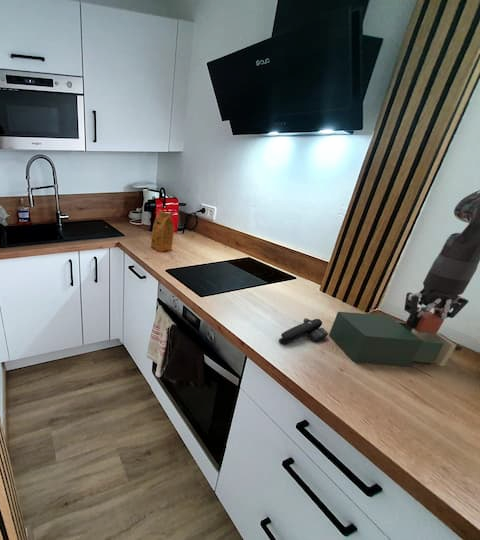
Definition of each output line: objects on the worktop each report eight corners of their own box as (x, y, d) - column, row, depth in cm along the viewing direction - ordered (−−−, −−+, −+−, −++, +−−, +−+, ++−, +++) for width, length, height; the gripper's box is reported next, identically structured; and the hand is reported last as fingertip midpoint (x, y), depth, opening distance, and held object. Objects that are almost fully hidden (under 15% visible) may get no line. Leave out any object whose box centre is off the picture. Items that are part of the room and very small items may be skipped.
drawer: (426, 342, 89) (437, 322, 86) (462, 368, 79) (476, 346, 76) (364, 337, 91) (373, 317, 88) (391, 361, 80) (402, 340, 77)
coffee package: (162, 244, 174) (165, 208, 165) (173, 251, 163) (178, 212, 155) (148, 246, 170) (150, 209, 161) (159, 253, 160) (162, 214, 151)
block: (422, 324, 83) (429, 310, 82) (436, 333, 79) (444, 319, 77) (405, 323, 84) (412, 309, 82) (418, 332, 80) (426, 318, 78)
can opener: (309, 327, 96) (314, 313, 94) (329, 339, 90) (335, 324, 88) (269, 337, 90) (274, 322, 88) (288, 351, 85) (293, 335, 82)
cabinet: (376, 339, 91) (388, 315, 88) (408, 367, 80) (423, 340, 76) (328, 335, 92) (337, 311, 89) (353, 362, 81) (365, 336, 77)
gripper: (433, 277, 72) (404, 333, 79) (496, 281, 70) (461, 337, 77) (408, 266, 79) (384, 318, 85) (465, 269, 77) (436, 322, 84)
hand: (421, 327), depth 81 cm, fingers closed on block, 4 cm apart
